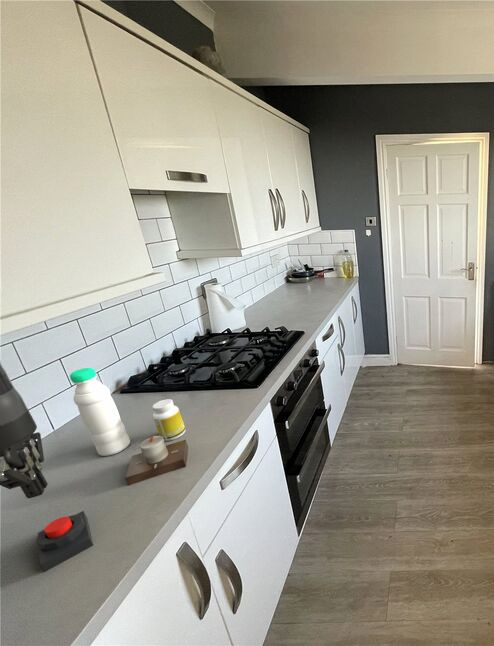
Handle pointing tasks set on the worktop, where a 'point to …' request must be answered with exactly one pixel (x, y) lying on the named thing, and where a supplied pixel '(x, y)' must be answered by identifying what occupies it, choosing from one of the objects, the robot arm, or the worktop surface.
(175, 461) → the dimmer panel
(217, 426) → the worktop surface
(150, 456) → the dimmer knob
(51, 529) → the light button
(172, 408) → the pill bottle
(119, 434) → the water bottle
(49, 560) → the switch block
